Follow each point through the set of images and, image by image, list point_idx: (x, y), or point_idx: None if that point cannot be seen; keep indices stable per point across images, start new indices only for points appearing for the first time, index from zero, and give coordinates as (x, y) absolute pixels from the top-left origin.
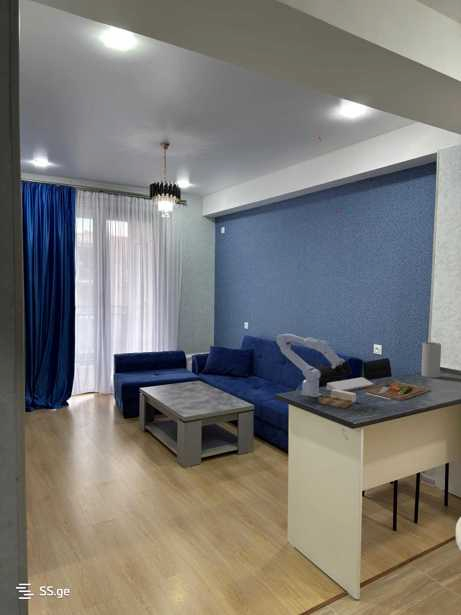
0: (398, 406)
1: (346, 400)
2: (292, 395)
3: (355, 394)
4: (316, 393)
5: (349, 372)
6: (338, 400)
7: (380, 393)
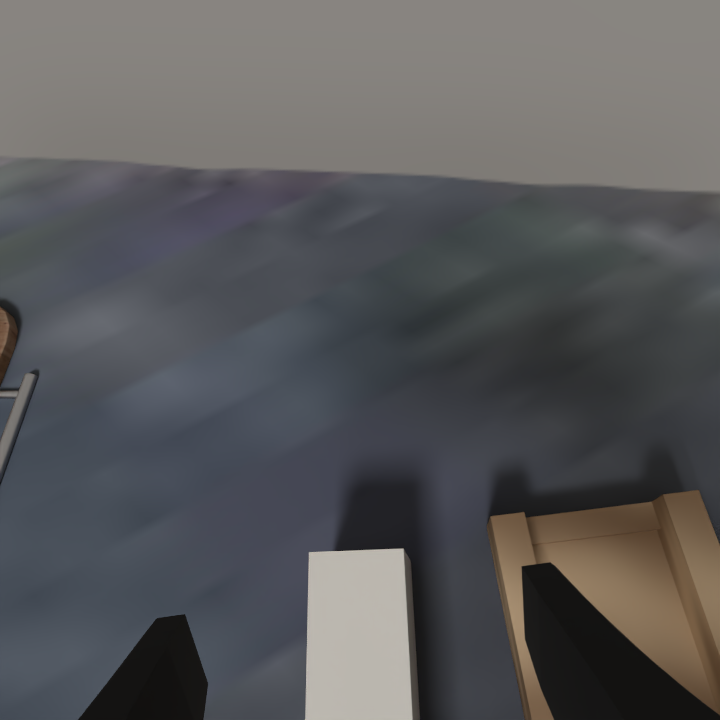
0: (203, 248)
1: None
2: None
3: (325, 553)
4: None
5: (187, 706)
6: None
7: None
